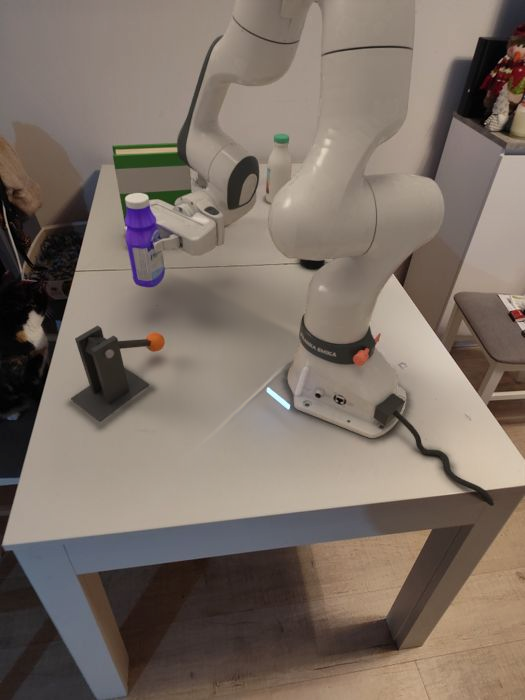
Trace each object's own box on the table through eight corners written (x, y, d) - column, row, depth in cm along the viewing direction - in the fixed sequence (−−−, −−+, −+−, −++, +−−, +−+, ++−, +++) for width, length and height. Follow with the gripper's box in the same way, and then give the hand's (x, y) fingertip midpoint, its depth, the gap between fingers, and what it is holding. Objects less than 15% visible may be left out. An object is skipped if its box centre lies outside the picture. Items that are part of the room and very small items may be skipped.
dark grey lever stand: (121, 369, 85) (107, 312, 76) (150, 388, 82) (139, 331, 73) (72, 403, 79) (50, 345, 69) (101, 425, 75) (82, 367, 66)
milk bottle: (293, 199, 147) (299, 135, 134) (281, 207, 142) (286, 141, 129) (273, 193, 150) (277, 129, 136) (261, 201, 145) (263, 135, 131)
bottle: (156, 292, 87) (144, 207, 75) (129, 287, 88) (112, 203, 76) (169, 272, 92) (160, 190, 81) (143, 268, 93) (130, 187, 81)
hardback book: (129, 248, 119) (112, 156, 103) (127, 235, 124) (112, 145, 108) (194, 242, 123) (189, 152, 107) (191, 230, 128) (184, 142, 112)
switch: (152, 346, 86) (157, 329, 85) (165, 354, 85) (170, 336, 84) (81, 352, 72) (86, 332, 71) (95, 362, 71) (101, 341, 70)
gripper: (158, 186, 94) (103, 206, 86) (229, 217, 85) (174, 243, 77) (162, 214, 98) (109, 236, 90) (229, 247, 89) (177, 274, 81)
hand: (139, 239), depth 83 cm, fingers closed on bottle, 6 cm apart
